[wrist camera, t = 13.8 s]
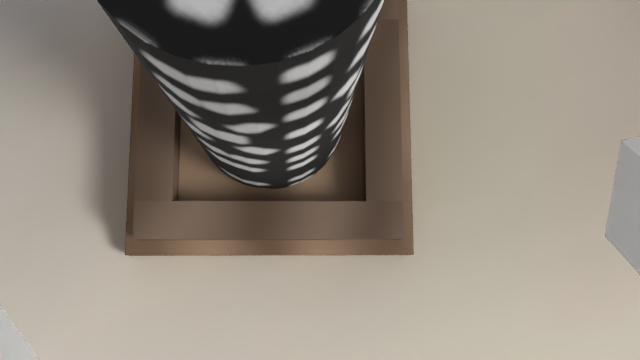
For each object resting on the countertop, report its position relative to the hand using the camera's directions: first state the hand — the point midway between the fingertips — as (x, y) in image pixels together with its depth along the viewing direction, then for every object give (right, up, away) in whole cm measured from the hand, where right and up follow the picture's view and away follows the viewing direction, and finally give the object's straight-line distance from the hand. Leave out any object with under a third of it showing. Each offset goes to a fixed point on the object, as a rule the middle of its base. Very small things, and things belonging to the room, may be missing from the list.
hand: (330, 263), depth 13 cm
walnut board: (-3, +5, +23) cm, 24 cm away
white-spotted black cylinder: (-3, +5, +22) cm, 23 cm away
